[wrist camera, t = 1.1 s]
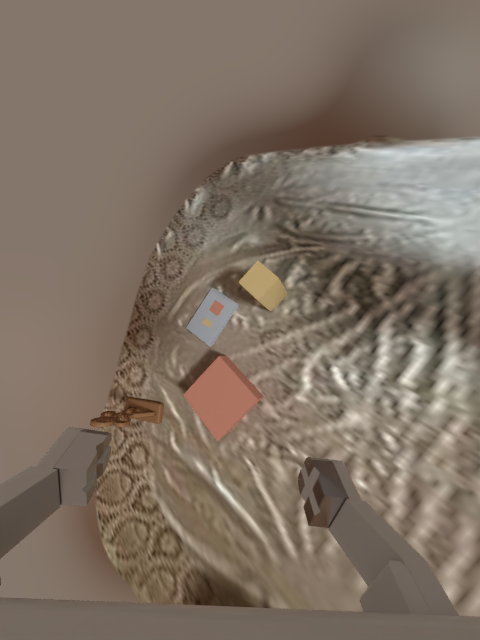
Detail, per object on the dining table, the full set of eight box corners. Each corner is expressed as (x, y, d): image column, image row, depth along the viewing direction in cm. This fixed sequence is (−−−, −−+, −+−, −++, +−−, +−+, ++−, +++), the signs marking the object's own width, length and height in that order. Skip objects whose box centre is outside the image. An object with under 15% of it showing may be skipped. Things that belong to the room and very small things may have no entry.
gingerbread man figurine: (127, 416, 51) (72, 431, 40) (130, 397, 52) (76, 407, 40) (161, 423, 48) (111, 442, 37) (163, 403, 48) (115, 416, 37)
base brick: (227, 356, 46) (219, 355, 42) (264, 396, 42) (258, 399, 39) (194, 392, 47) (183, 395, 43) (226, 434, 43) (217, 441, 40)
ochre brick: (270, 278, 45) (257, 260, 37) (287, 293, 43) (278, 278, 35) (254, 296, 45) (238, 282, 37) (270, 311, 44) (257, 300, 36)
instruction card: (212, 287, 49) (212, 286, 48) (238, 304, 46) (238, 304, 46) (186, 327, 49) (185, 327, 49) (210, 347, 47) (210, 347, 46)
